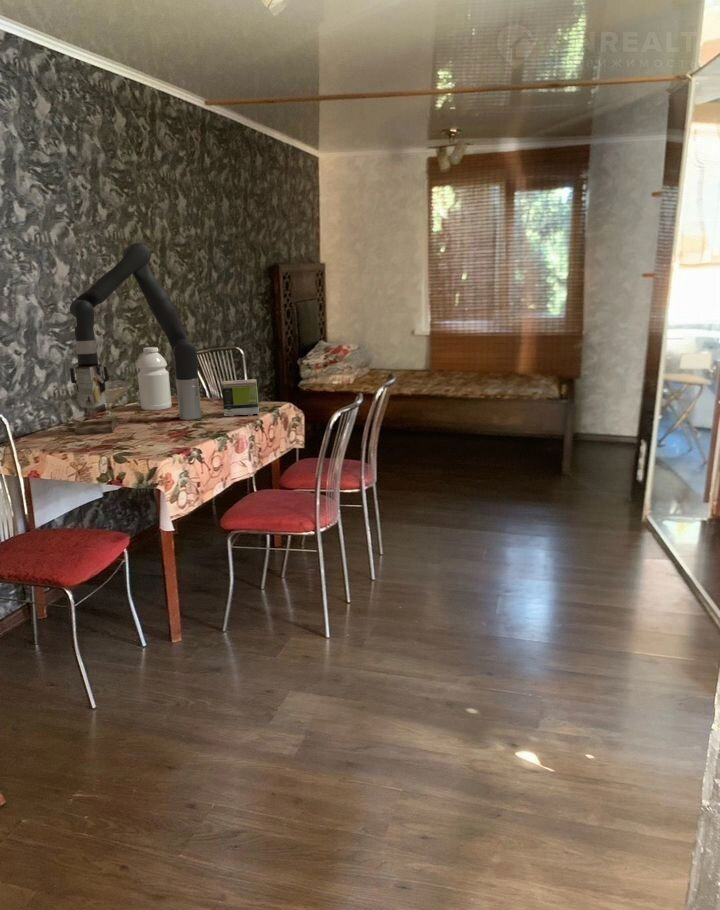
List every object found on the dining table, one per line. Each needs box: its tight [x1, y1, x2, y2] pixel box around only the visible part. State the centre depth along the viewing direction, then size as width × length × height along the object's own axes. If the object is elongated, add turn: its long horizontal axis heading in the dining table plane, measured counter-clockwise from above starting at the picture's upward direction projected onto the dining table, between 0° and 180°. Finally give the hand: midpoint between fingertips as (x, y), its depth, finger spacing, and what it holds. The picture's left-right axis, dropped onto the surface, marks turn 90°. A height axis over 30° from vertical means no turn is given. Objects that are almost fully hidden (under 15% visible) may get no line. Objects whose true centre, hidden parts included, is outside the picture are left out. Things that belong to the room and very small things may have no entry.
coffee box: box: [74, 363, 107, 408], centre depth 276 cm, size 9×6×16 cm
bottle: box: [136, 346, 173, 411], centre depth 321 cm, size 14×14×28 cm
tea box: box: [221, 378, 260, 417], centre depth 304 cm, size 15×10×15 cm
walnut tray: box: [73, 419, 117, 436], centre depth 280 cm, size 14×14×2 cm
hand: (91, 392), depth 276 cm, fingers closed on coffee box, 8 cm apart
